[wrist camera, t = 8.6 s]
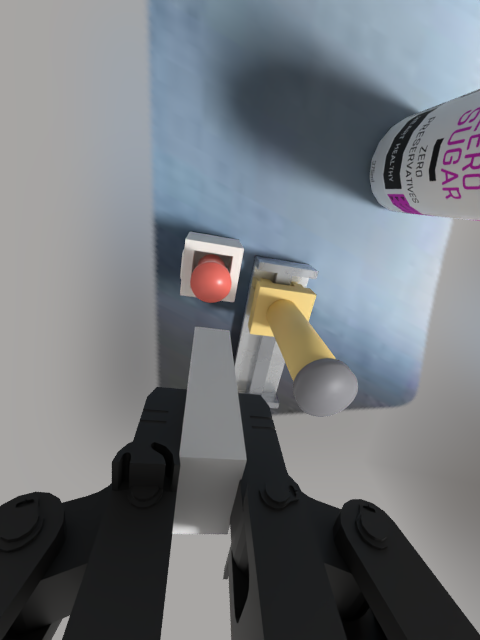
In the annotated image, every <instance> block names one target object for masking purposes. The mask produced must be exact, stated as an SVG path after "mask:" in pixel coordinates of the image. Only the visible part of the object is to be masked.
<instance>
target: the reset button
mask: <svg viewBox="0 0 480 640" xmlns="http://www.w3.org/2000/svg"><path fill="white" fill-rule="evenodd" d="M231 285H232V281H231V276H230V273H229V271H228V269H227V268H226V267H225V264H224V262H223V260H222V259H221V258H220V257H219V256H217V255H213V254H209V255H205V256H203V257H202V258H201V259H200V260H199V262H198V265H197V266H196V267H195V269H194V270H193V272H192V275H191V279H190V286H191V289H192V292H193V293H194V295H195V296H196V297H197V298H198V299H200V300H202V301H204V302H209V303H214V302H218V301H221V300H222V299H224V298H225V297H226V296H227V295H228V294H229V292H230V289H231Z"/></svg>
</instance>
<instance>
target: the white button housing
mask: <svg viewBox="0 0 480 640" xmlns="http://www.w3.org/2000/svg"><path fill="white" fill-rule="evenodd" d="M243 251H244V248H243V246H242V244H241V243H240V241H239V240H237V239H231V238H225V237H219V236H213V235H208V234H202V233H196V232H189V234H188V235H187V237H186V239H185V249H184V250H183V252H182V263H181V273H180V279H181V289H180V295H183V296H191V297H196V296H195V295H194V293H193V292H192V289H191V286H190V279H191V275H192V272H193V270H194V269H195V267H196V266H197V265H198V262H199V260H200V259H201V258H202V257H203V256H205V255H209V254H213V255H217V256H219V257H220V258H221V259H222V260H223V262H224V264H225V267H226V268H227V269H228V271H229V273H230V276H231V281H232V285H231V289H230V292H229V294H228V295H227V296H226V297H225V298H224V299H222V300H221V301H227V302H234V301H235V295H236V290H237V284H238V279H239V273H240V268H241V262H242V257H243Z"/></svg>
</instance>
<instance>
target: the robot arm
mask: <svg viewBox="0 0 480 640" xmlns="http://www.w3.org/2000/svg"><path fill="white" fill-rule="evenodd" d="M229 526H230V527H231V547H230V551H229V554H228V558H227V561H226V565H225V570H224V578H223V579H228V576H229V593H230V616H231V640H480V635H479V633H478V632H477V631H476V629H475V628H474V626H473V625H472V624H471V623H470V621H469V620H468V619H467V617H466V616H465V615H464V613H463V612H462V611H461V609H460V608H459V607H458V605H457V604H456V603H455V602H454V600H453V599H452V598H451V596H450V595H449V594H448V592H447V591H446V590H445V588H444V587H443V586H442V584H441V583H440V582H439V581H438V579H437V578H436V576H435V575H434V574H433V573H432V571H431V570H430V569H429V567H428V566H427V565H426V563H425V562H424V561H423V559H422V558H421V557H420V555H419V554H418V553H417V551H416V550H415V549H414V547H413V546H412V545H411V544H410V542H409V541H408V540H407V538H406V537H405V536H404V534H403V533H402V532H401V530H400V529H399V528H398V526H397V525H396V524H395V522H394V521H393V520H392V519H391V518H390V517H389V516H388V515H387V514H386V513H385V512H384V511H383V510H381V509H380V508H379V507H377V506H376V505H374V504H373V503H370V502H367V501H364V500H362V499H353V500H350V501H348V502H346V503H345V504H344V505H343V507H342V509H339V508H336V507H333V506H331V505H328V504H325V503H322V502H319V501H317V500H315V499H313V498H310V497H308V496H307V495H306V494H304V493H303V492H301V490H300V488H299V486H298V484H297V483H296V482H294V480H293V479H292V478H291V477H290V476H289V475H288V473H287V470H286V467H285V463H284V460H283V456H282V452H281V448H280V445H279V441H278V437H277V434H276V430H275V426H274V423H273V420H272V415H271V412H270V408H269V405H268V404H267V403H266V401H265V400H264V399H263V398H262V396H261V395H256V394H244V393H238V390H237V383H236V375H235V368H234V360H233V353H232V345H231V338H230V331H228V330H219V329H211V328H203V327H195V332H194V340H193V347H192V355H191V363H190V371H189V379H188V387H187V390H186V389H174V388H162V387H157V388H156V389H155V390H154V391H153V392H152V393H151V394H150V395H149V396H148V397H147V399H146V403H145V406H144V409H143V412H142V415H141V418H140V422H139V424H138V428H137V431H136V434H135V437H134V440H133V442H131V443H128V444H127V445H126V446H125V447H123V448H122V449H121V450H120V451H119V452H118V453H117V455H116V456H115V458H114V459H113V461H112V483H111V484H110V485H109V486H108V487H106V488H104V489H103V490H101V491H99V492H97V493H95V494H92V495H89V496H86V497H82V498H78V499H75V500H71V501H68V502H63V503H61V501H60V499H59V498H57V497H56V496H54V495H52V494H50V493H44V492H33V493H29V494H26V495H21V496H18V497H16V498H14V499H12V500H10V501H8V502H7V503H5V504H3V505H1V506H0V640H51V639H52V637H53V635H54V634H55V632H56V630H57V628H58V626H59V624H60V622H61V621H62V619H63V618H64V617H67V616H69V615H70V618H69V621H68V624H67V627H66V630H65V632H64V635H63V638H62V640H160V637H161V628H162V619H163V610H164V601H165V593H166V584H167V575H168V566H169V557H170V549H171V540H172V534H228V530H229Z"/></svg>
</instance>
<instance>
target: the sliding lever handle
mask: <svg viewBox="0 0 480 640" xmlns="http://www.w3.org/2000/svg"><path fill="white" fill-rule="evenodd" d="M315 298H316V294H315V293H314V292H313V291H312V290H311V289H310V288H304V287H303V286H302V285H301V284H296V283H292V285H291V286H290V285H283V284H277V283H272V281H271V280H270V279H264V278H261V281H257V284H256V288H255V293H254V298H253V303H252V307H251V312H250V317H249V322H248V328H249V332H250V334H255V335H263V336H272V337H275V340H276V342H277V344H278V347H279V349H280V351H281V353H282V356H283V358H284V360H285V363H286V365H287V367H288V370H289V372H290V374H291V377H292V379H293V381H294V382H293V393H294V396H295V398H296V401H297V403H298V405H299V407H300V408H301V409H302V410H303V411H304V412H305V413H307V414H309V415H313V416H318V417H323V416H330V415H333V414H336V413H338V412H340V411H342V410H344V409H345V408H346V407H347V406H349V405H350V403H351V402H352V401H353V400H354V398H355V396H356V394H357V390H358V382H357V379H356V377H355V375H354V374H353V373H352V371H351V370H350V369H349V367H348V366H347V365H346V364H345V363H343V362H342V361H340V360H337V359H336V358H335V357H334V356H333V354H332V353H331V352H330V350H329V349H328V347H327V346H326V345H325V343H324V342H323V341H322V339H321V338H320V337H319V335H318V334H317V333H316V331H315V330H314V329H313V327H312V326H311V325H310V323H309V322H308V321H309V318H310V315H311V311H312V308H313V305H314V301H315Z"/></svg>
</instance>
